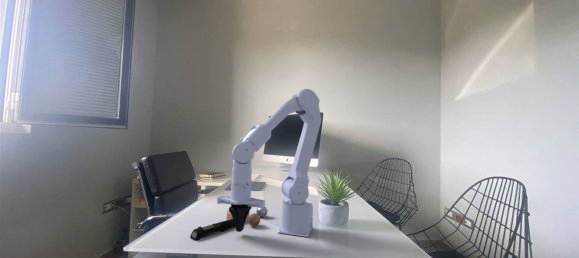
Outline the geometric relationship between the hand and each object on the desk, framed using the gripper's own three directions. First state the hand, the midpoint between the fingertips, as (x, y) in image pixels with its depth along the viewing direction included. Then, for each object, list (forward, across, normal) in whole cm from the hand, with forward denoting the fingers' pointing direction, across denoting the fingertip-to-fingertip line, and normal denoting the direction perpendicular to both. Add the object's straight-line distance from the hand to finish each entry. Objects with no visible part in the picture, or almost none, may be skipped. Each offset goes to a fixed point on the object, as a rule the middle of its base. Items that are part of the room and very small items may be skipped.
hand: (239, 230), depth 68 cm
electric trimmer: (+2, -8, 0) cm, 8 cm away
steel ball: (-1, 0, +17) cm, 17 cm away
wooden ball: (-1, +1, +8) cm, 8 cm away
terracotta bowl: (+1, -7, +12) cm, 14 cm away
